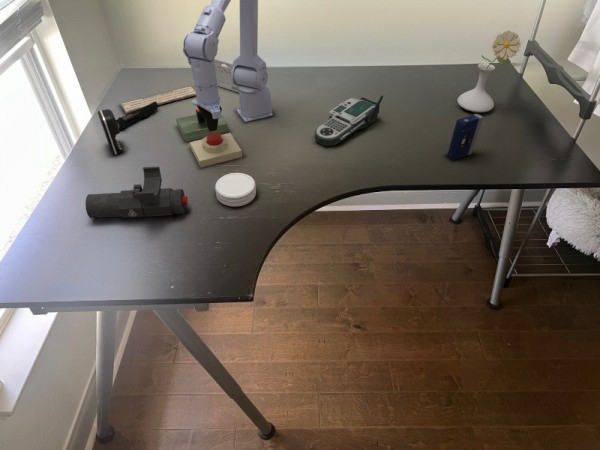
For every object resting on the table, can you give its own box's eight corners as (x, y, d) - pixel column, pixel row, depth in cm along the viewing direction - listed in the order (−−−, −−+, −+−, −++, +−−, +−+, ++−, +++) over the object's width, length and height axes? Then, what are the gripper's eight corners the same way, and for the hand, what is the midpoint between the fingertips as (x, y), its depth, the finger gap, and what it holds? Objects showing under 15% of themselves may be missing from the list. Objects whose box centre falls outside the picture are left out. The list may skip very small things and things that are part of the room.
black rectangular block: (213, 116, 135) (211, 105, 132) (215, 119, 134) (213, 108, 131) (197, 120, 133) (195, 109, 131) (198, 122, 132) (196, 111, 130)
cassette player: (452, 160, 124) (463, 122, 116) (446, 156, 125) (456, 118, 117) (472, 153, 126) (484, 116, 118) (466, 149, 128) (477, 112, 120)
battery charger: (127, 152, 126) (115, 117, 118) (113, 156, 125) (100, 120, 117) (121, 140, 130) (110, 105, 123) (108, 144, 129) (96, 108, 121)
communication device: (302, 137, 132) (302, 111, 126) (352, 107, 145) (354, 82, 139) (333, 153, 127) (335, 126, 120) (382, 120, 139) (386, 94, 133)
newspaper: (127, 114, 141) (125, 109, 140) (120, 105, 146) (119, 100, 144) (196, 96, 150) (196, 91, 149) (189, 88, 155) (188, 83, 153)
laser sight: (99, 202, 110) (86, 170, 104) (190, 197, 112) (183, 165, 105) (89, 229, 103) (74, 196, 97) (187, 224, 105) (179, 191, 98)
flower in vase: (453, 112, 143) (475, 32, 126) (458, 96, 151) (479, 19, 134) (496, 120, 140) (524, 39, 123) (498, 103, 148) (525, 25, 130)
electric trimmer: (161, 111, 143) (159, 102, 141) (121, 131, 134) (118, 122, 132) (154, 108, 145) (152, 99, 143) (113, 127, 136) (110, 118, 134)
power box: (230, 139, 131) (229, 127, 129) (242, 157, 125) (241, 144, 122) (190, 148, 128) (188, 136, 125) (200, 167, 121) (198, 155, 118)
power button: (219, 136, 126) (218, 131, 125) (223, 144, 123) (223, 138, 122) (205, 140, 124) (204, 134, 123) (209, 147, 122) (209, 142, 121)
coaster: (240, 212, 108) (238, 201, 105) (208, 198, 112) (206, 187, 109) (263, 190, 114) (263, 179, 112) (233, 178, 118) (231, 167, 115)
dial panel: (218, 118, 140) (217, 109, 138) (228, 132, 134) (227, 123, 132) (178, 127, 136) (176, 118, 134) (185, 142, 130) (183, 133, 128)
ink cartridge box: (219, 82, 158) (215, 55, 151) (244, 90, 153) (241, 63, 147) (214, 85, 156) (211, 58, 149) (239, 93, 152) (237, 65, 145)
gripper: (182, 74, 115) (191, 120, 125) (198, 98, 106) (206, 146, 115) (209, 69, 118) (215, 115, 127) (226, 92, 108) (232, 140, 117)
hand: (212, 129), depth 121 cm, fingers closed
